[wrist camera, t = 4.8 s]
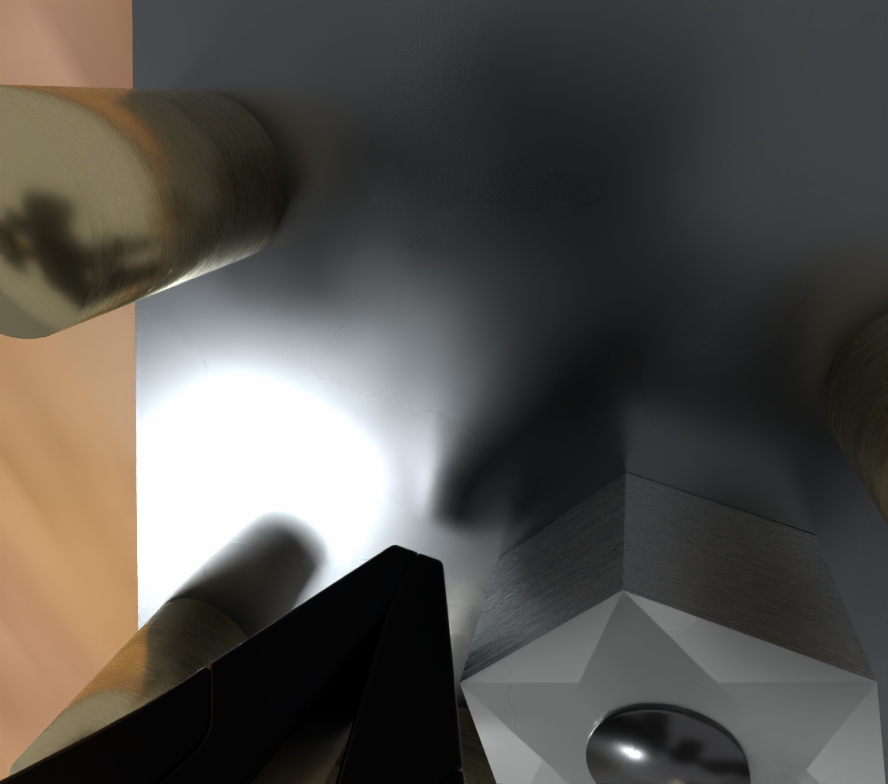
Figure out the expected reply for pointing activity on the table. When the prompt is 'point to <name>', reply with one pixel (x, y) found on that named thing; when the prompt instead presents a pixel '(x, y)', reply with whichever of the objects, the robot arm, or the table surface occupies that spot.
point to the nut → (670, 651)
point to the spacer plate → (463, 291)
